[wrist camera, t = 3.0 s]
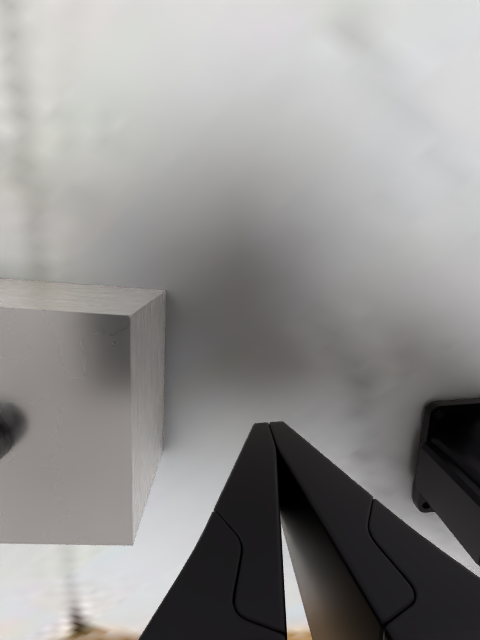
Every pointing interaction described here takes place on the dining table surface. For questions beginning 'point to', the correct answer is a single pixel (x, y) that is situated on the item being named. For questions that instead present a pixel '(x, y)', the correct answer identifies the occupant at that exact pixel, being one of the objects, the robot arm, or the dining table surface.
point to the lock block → (78, 410)
